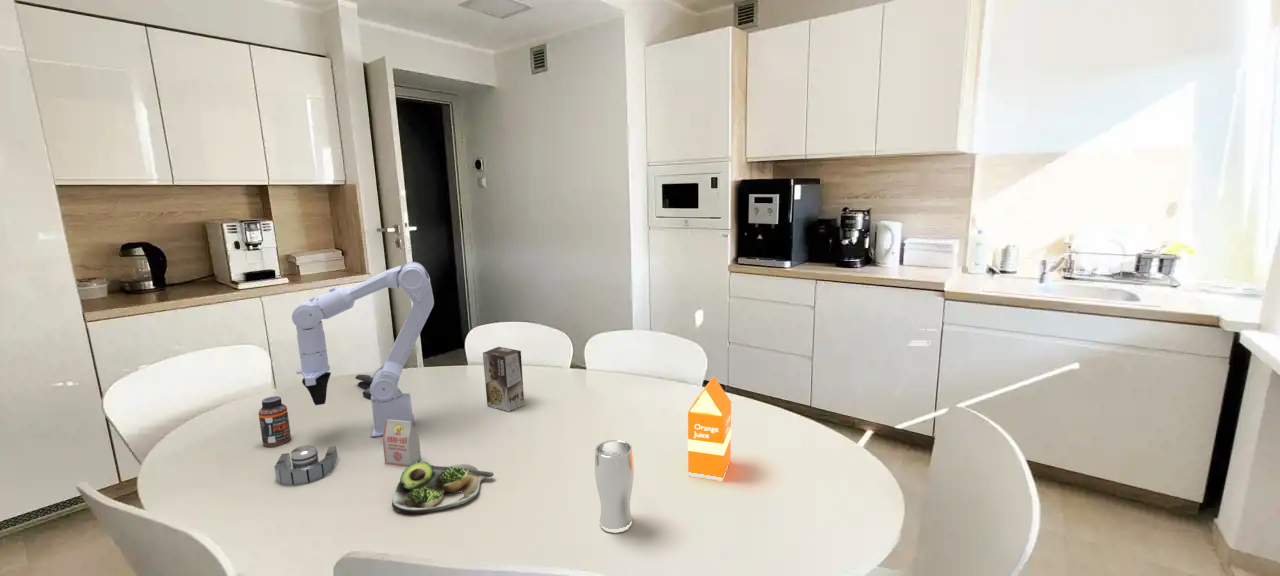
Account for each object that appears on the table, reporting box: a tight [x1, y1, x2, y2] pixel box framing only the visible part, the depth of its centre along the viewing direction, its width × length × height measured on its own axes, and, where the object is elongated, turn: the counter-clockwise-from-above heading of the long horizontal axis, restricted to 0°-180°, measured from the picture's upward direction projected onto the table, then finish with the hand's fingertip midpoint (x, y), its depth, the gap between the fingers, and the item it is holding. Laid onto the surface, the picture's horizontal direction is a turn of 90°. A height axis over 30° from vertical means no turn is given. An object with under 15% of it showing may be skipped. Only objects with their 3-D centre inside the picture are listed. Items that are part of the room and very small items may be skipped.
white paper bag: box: [382, 419, 422, 467], centre depth 126 cm, size 4×7×10 cm, turn 75°
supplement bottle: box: [258, 395, 292, 447], centre depth 137 cm, size 6×6×11 cm
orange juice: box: [687, 376, 732, 478], centre depth 119 cm, size 8×9×20 cm
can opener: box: [354, 374, 374, 400], centre depth 171 cm, size 18×7×6 cm, turn 46°
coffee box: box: [482, 346, 525, 412], centre depth 157 cm, size 9×6×16 cm
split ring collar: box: [274, 445, 339, 486], centre depth 123 cm, size 11×10×3 cm
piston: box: [290, 444, 320, 469], centre depth 123 cm, size 5×5×5 cm
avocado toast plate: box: [391, 461, 494, 515], centre depth 115 cm, size 19×18×5 cm
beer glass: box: [594, 439, 634, 529], centre depth 101 cm, size 7×7×15 cm
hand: (320, 403), depth 137 cm, fingers closed
